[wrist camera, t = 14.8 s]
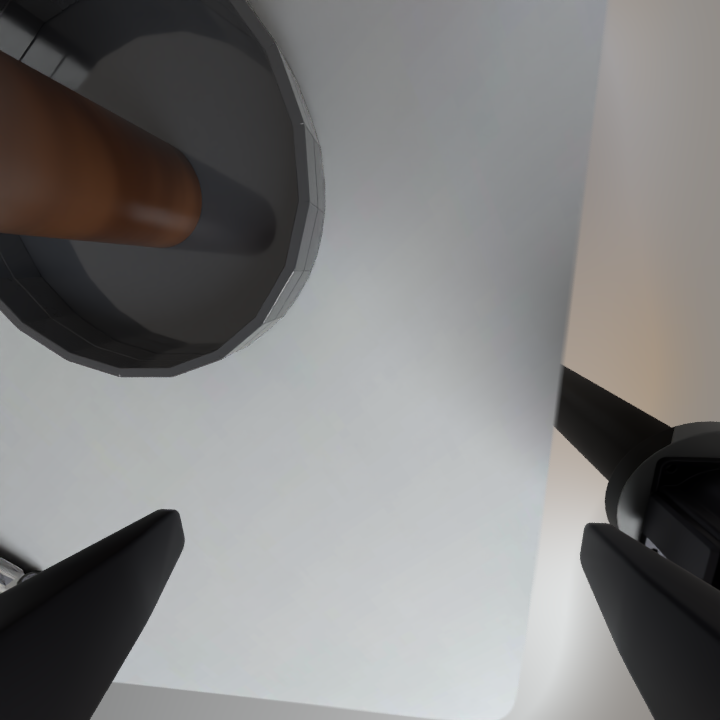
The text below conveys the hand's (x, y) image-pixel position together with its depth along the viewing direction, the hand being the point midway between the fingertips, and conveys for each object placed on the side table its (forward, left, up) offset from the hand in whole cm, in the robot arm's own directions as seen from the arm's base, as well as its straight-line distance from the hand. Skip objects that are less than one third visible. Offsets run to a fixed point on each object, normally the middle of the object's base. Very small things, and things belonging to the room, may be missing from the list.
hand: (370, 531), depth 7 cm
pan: (+12, -10, -12) cm, 20 cm away
